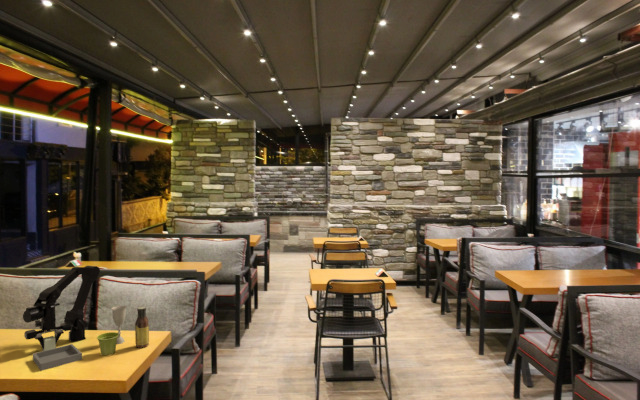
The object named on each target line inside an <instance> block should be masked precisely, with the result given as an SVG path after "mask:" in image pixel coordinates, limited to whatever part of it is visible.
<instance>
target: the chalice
mask: <svg viewBox="0 0 640 400" xmlns="http://www.w3.org/2000/svg"><path fill="white" fill-rule="evenodd" d="M126 309H127V306H125V305H118V306H113V307H111V311H112V319H113V322H114V324H115V325H116V326H117V331H118V332H117V333H119V336H118V338H117V343H116V345H121V344H123V342H124V343H125V342H126V341H125V339H124V337H123V336H121V334H122V332H121V330H122V328H121V327H122V325H123V324H124V322H125V320H126V313H127V311H126Z"/></svg>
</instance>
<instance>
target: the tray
mask: <svg viewBox="0 0 640 400" xmlns="http://www.w3.org/2000/svg"><path fill="white" fill-rule="evenodd" d="M82 360H83V353H82V352H81V351H80V349H78V348H77V347H76V346H75V345H74V344H73V343H71V344H67V345H62V346H59V347H56V348H54V349H50V350H45V351H43V350H42V351H38V352H33V353H32V361H33V362H34V364H35V365H36V366H37V367H38V369H39V370H40V371H46V370H49V369H53V368H57V367H60V366H63V365H67V364H72V363H74V362H77V361H82Z"/></svg>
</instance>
